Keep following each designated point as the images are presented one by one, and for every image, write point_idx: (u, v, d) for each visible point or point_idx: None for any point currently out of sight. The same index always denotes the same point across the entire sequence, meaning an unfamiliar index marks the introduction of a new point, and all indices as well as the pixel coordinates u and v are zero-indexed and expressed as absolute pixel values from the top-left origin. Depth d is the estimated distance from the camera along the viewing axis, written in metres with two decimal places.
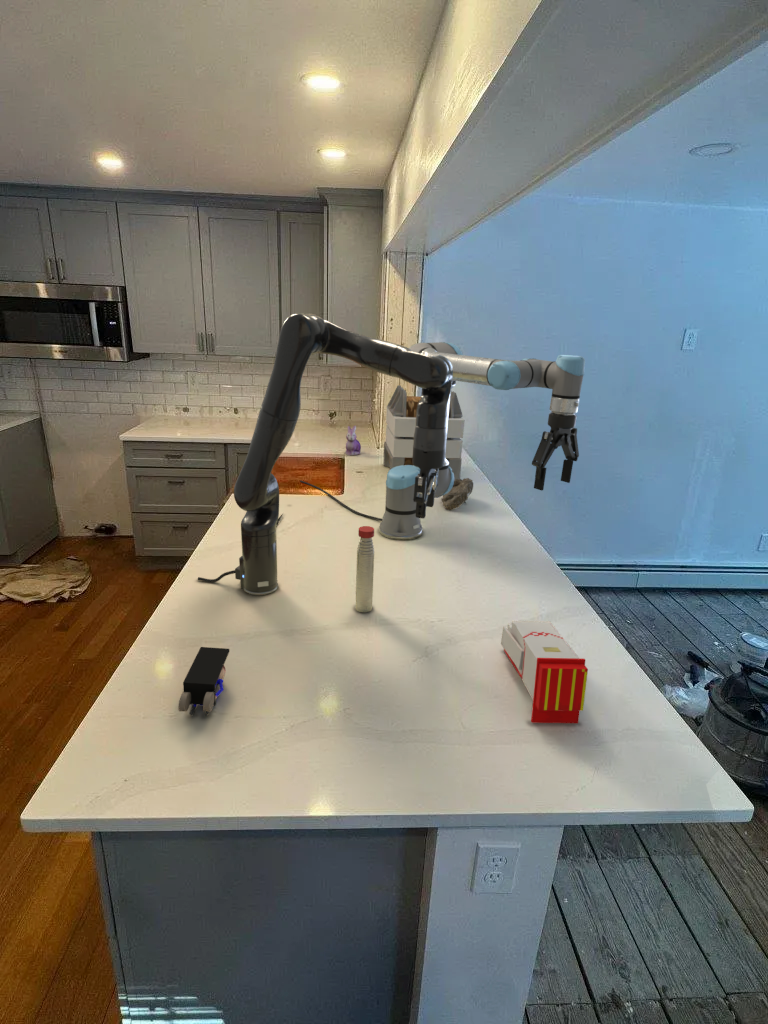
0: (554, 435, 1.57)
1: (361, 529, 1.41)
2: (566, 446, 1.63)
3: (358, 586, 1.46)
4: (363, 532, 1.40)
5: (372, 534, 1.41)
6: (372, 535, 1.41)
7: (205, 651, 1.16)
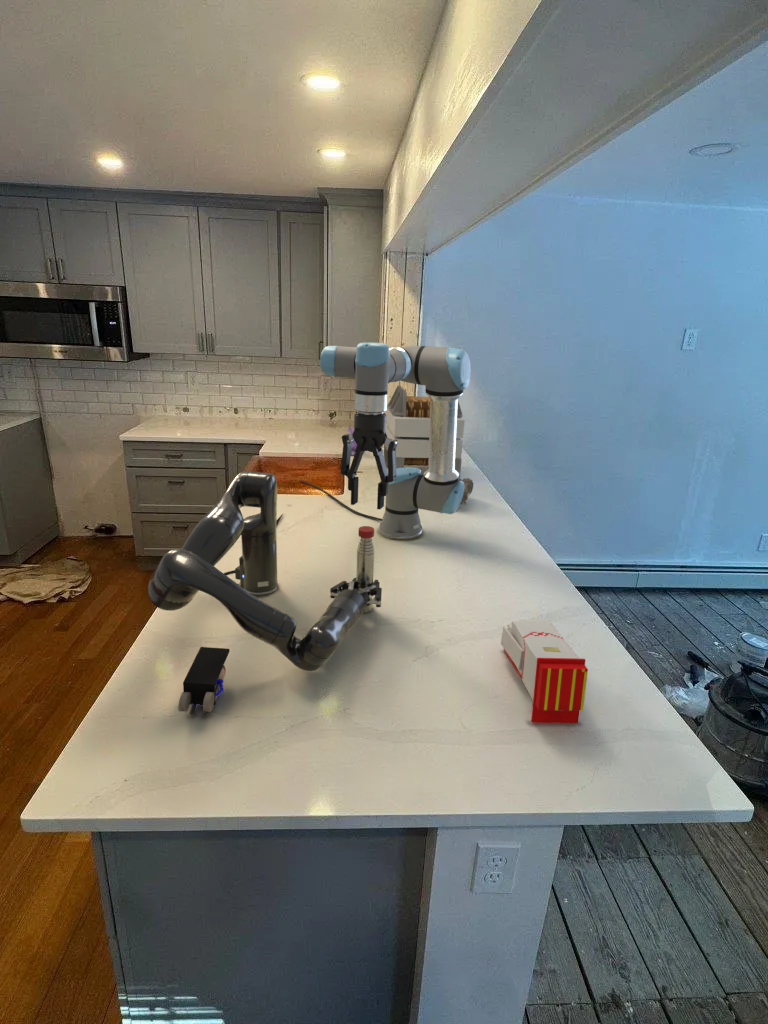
0: None
1: (361, 529, 1.41)
2: (362, 454, 1.37)
3: (358, 586, 1.46)
4: (363, 532, 1.40)
5: (372, 534, 1.41)
6: (372, 535, 1.41)
7: (205, 651, 1.16)
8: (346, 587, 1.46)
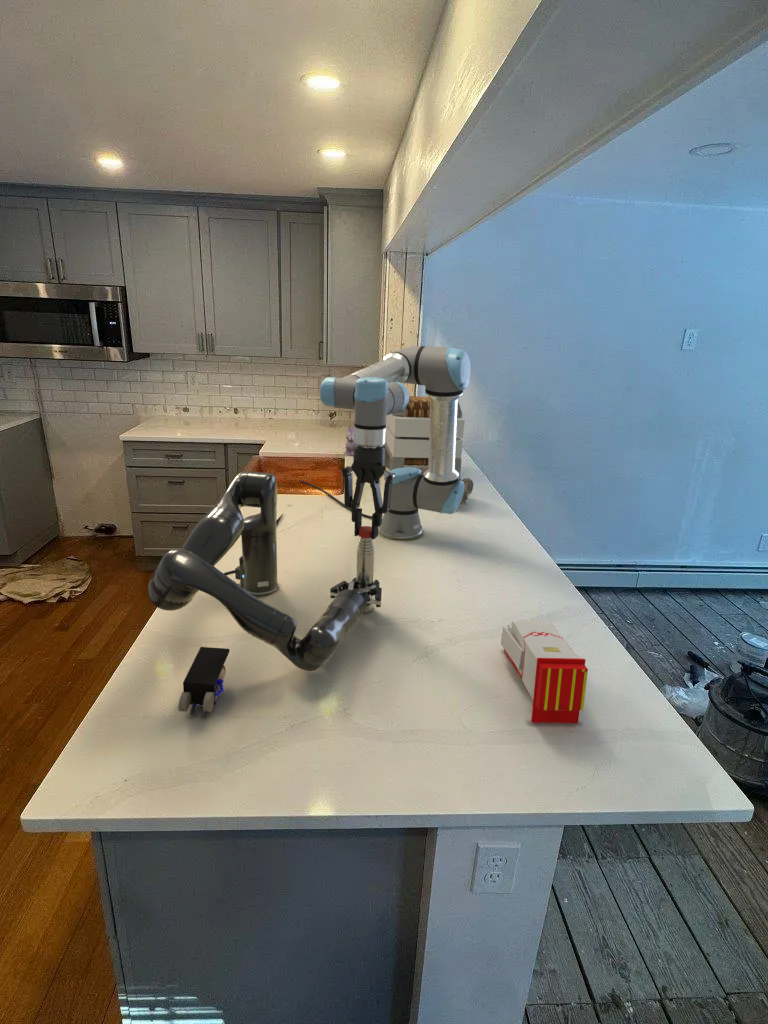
0: None
1: (361, 529, 1.41)
2: (363, 485, 1.39)
3: (358, 586, 1.46)
4: (363, 532, 1.40)
5: None
6: None
7: (205, 651, 1.16)
8: (346, 587, 1.46)
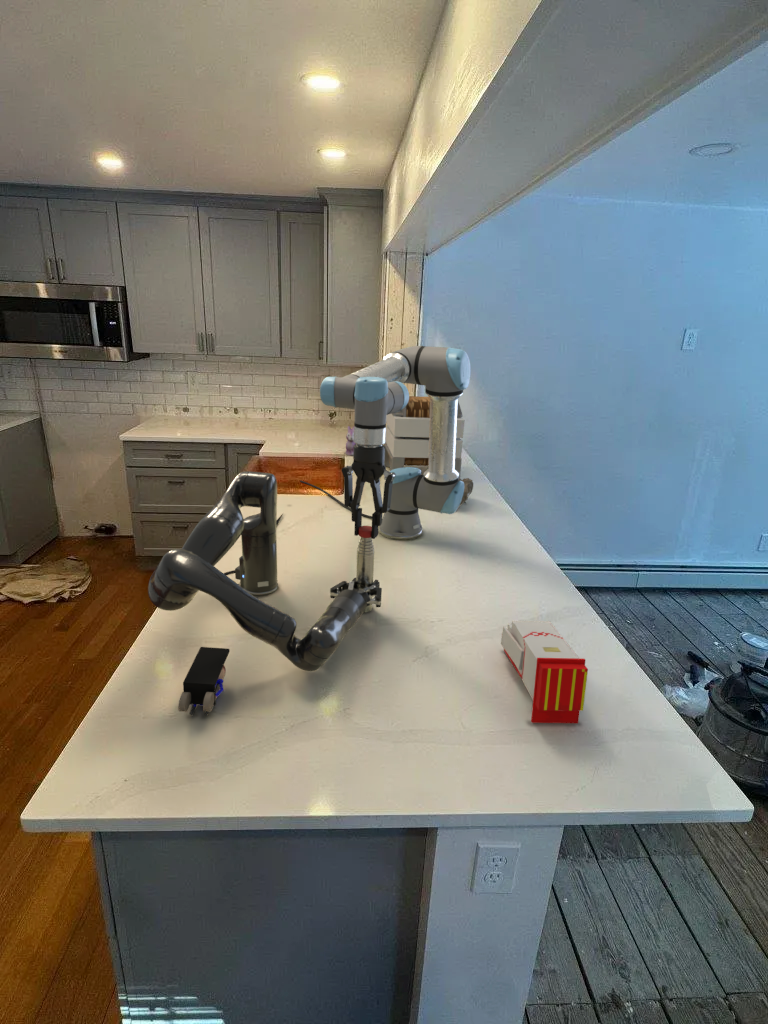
0: None
1: (368, 530, 1.41)
2: (363, 485, 1.39)
3: (358, 586, 1.46)
4: None
5: None
6: None
7: (205, 651, 1.16)
8: (346, 587, 1.46)
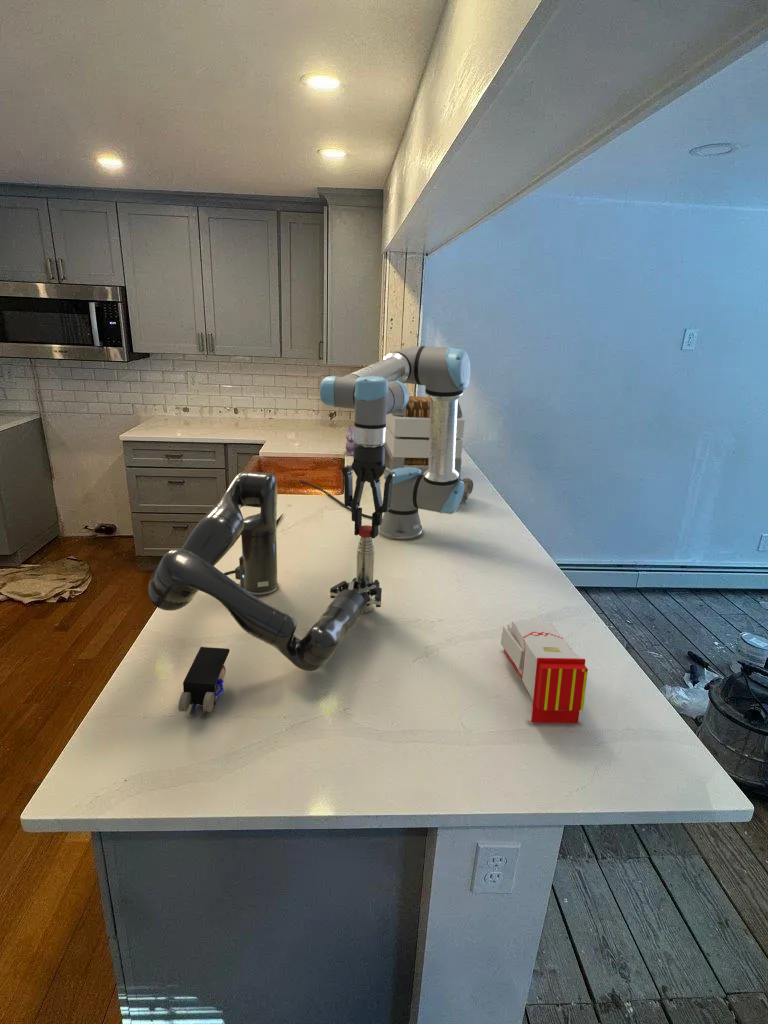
0: None
1: (371, 527, 1.42)
2: (363, 484, 1.39)
3: (358, 586, 1.46)
4: None
5: None
6: None
7: (205, 651, 1.16)
8: (346, 587, 1.46)
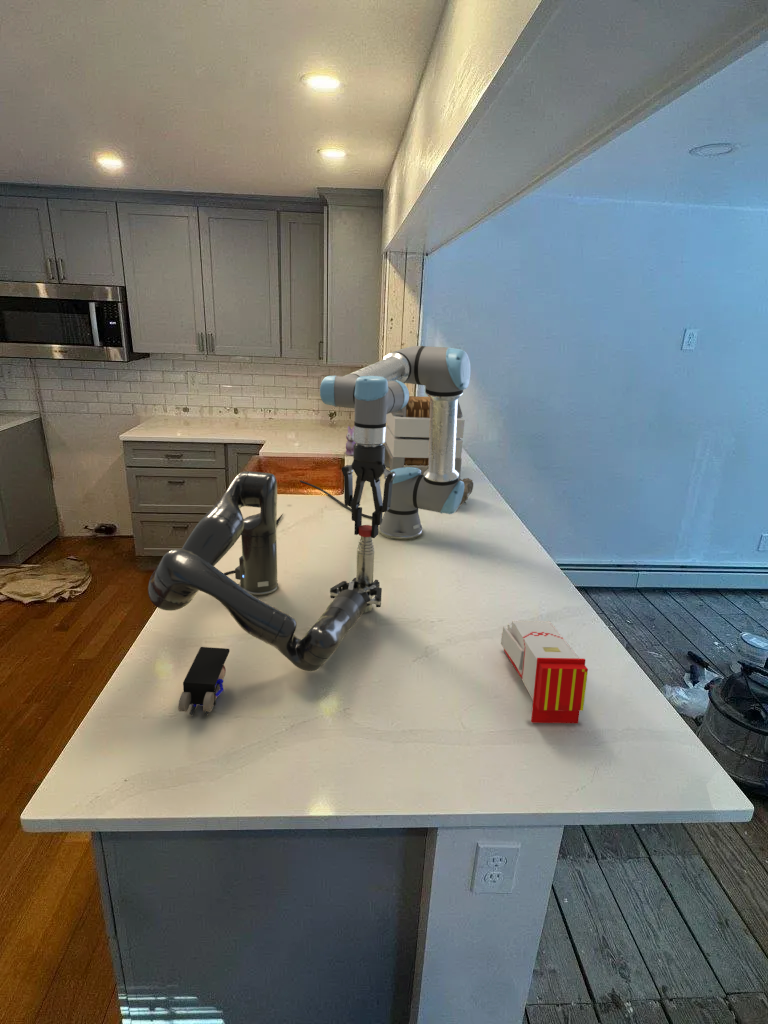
0: None
1: (364, 525, 1.43)
2: (363, 484, 1.39)
3: (358, 586, 1.46)
4: None
5: (361, 533, 1.41)
6: (361, 534, 1.41)
7: (205, 651, 1.16)
8: (346, 587, 1.46)
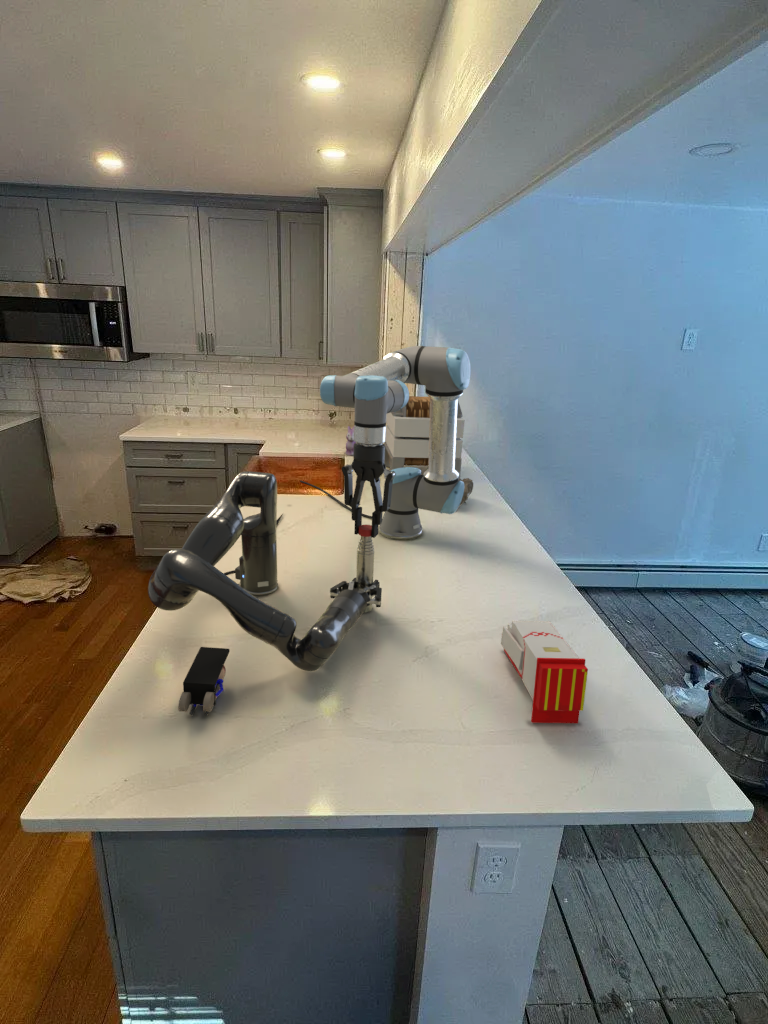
0: None
1: (361, 527, 1.41)
2: (363, 483, 1.39)
3: (358, 586, 1.46)
4: (363, 530, 1.40)
5: None
6: None
7: (205, 651, 1.16)
8: (346, 587, 1.46)
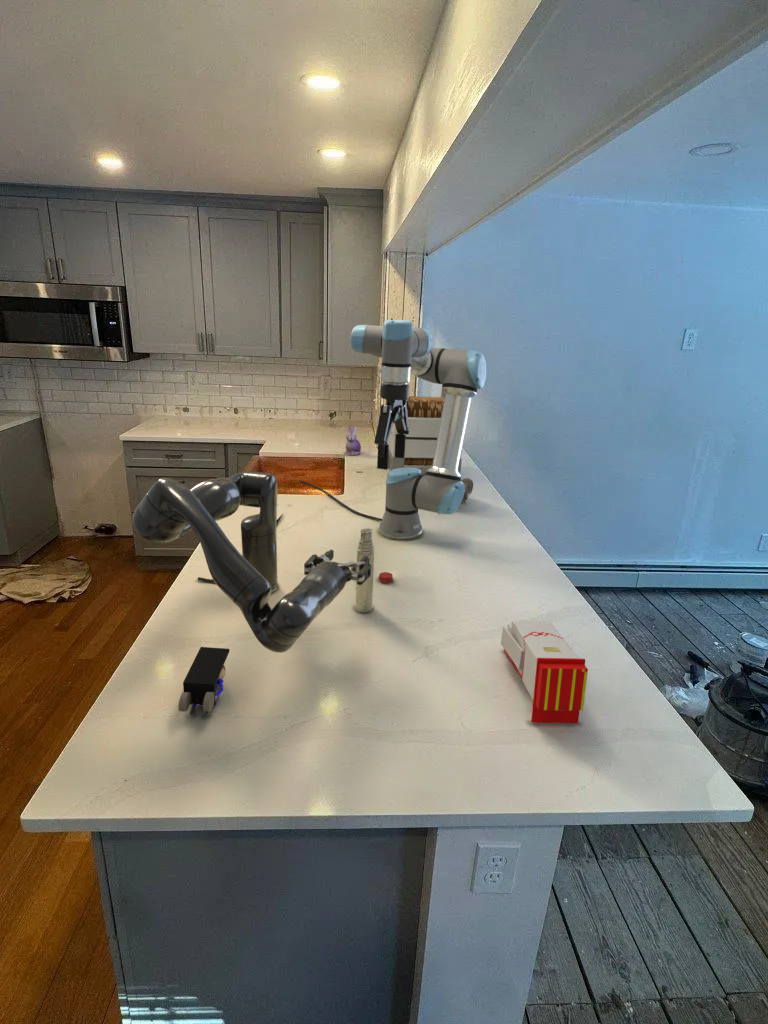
0: None
1: (387, 576, 1.64)
2: None
3: (358, 586, 1.46)
4: None
5: None
6: None
7: (205, 651, 1.16)
8: (317, 561, 1.29)
